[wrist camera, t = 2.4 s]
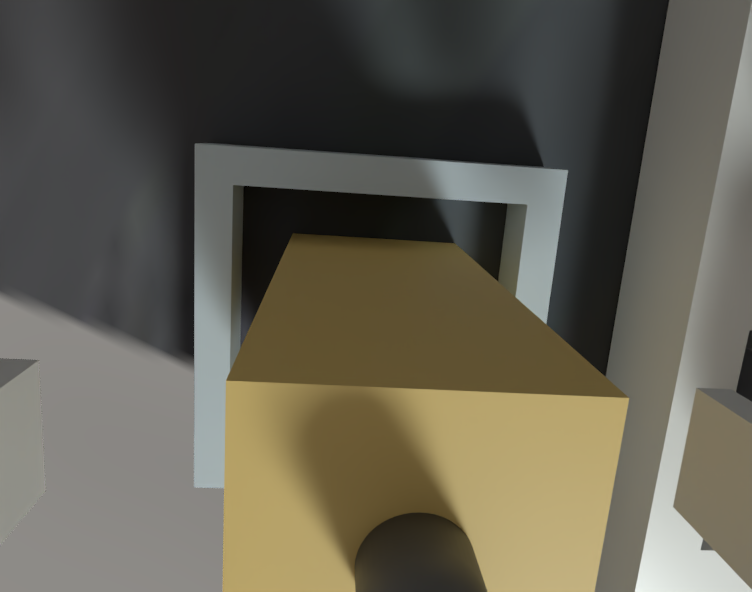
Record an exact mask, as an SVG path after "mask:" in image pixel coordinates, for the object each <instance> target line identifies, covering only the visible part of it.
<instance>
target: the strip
mask: <svg viewBox="0 0 752 592" xmlns="http://www.w3.org/2000/svg"><path fill="white" fill-rule="evenodd" d="M606 378H607V379H608V380H610V381H611V382H612V383H613V384H614V385H615V386H616V387H617V388H619V389H620V390H621V391H622V392H623V393H624V394H625V395H626V396H628V397H629V403H628V408H627V414H626V420H625V425H624V431H623V436H622V442H621V447H620V453H619V458H618V464H617V470H616V475H615V481H614V486H613V492H612V497H611V503H610V508H609V514H608V519H607V525H606V531H605V536H604V542H603V547H602V553H601V558H600V564H599V569H598V575H597V581H596V586H595V592H752V589H751V588H750V587H749V586H748V585H747V584H746V583H745V582H744V581H743V580H742V579H741V578H740V577H739V576H738V575H737V574H736V573H735V571H734V570H733V569H732V568H731V567H730V566H729V565H728V564H727V563H726V562H725V561H724V560H723V559H722V558H721V557H720V556H719V555H718V554H717V553H716V552H715V550H714V549H713V548H712V547H711V546H710V545H709V544H708V543H707V542H706V541H705V540H704V539H703V538H702V537H701V536H700V535H699V534H698V533H697V532H696V531H695V529H694V528H693V527H692V526H691V525H690V524H689V523H688V522H687V521H686V520H685V519H684V518H683V517H682V516H681V515H680V514H679V513H678V512H677V511H676V510H675V508H674V507H673V504H674V499H675V494H676V489H677V484H678V479H679V473H680V468H681V463H682V458H683V453H684V448H685V443H686V438H687V433H688V428H689V423H690V418H691V412H692V407H693V402H694V397H695V392H696V388H713V389H732V390H733V391H735V392H737V393H738V394H740V395H742V396H743V397H745V398H747V399H748V400H750V401H752V0H669V4H668V10H667V16H666V22H665V28H664V34H663V40H662V46H661V51H660V57H659V63H658V69H657V75H656V81H655V87H654V93H653V99H652V105H651V111H650V117H649V122H648V128H647V134H646V140H645V146H644V152H643V158H642V164H641V170H640V176H639V182H638V188H637V193H636V199H635V205H634V211H633V217H632V223H631V229H630V235H629V241H628V247H627V253H626V259H625V264H624V270H623V276H622V282H621V288H620V294H619V300H618V306H617V312H616V318H615V324H614V330H613V335H612V341H611V347H610V353H609V359H608V365H607V371H606Z"/></svg>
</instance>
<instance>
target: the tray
mask: <svg viewBox="0 0 752 592" xmlns="http://www.w3.org/2000/svg"><path fill="white" fill-rule="evenodd" d="M567 174H568V170H563V169H555V168H548V167H538V166H524V165H510V164H496V163H482V162H468V161H454V160H441V159H427V158H413V157H399V156H385V155H371V154H357V153H343V152H329V151H315V150H301V149H287V148H273V147H259V146H245V145H232V144H218V143H196V144H195V254H194V487H200V488H203V487H204V488H224V470H225V403H226V379H227V377H228V375H229V373H230V370H231V368H232V366H233V364H234V362H235V359H236V357H237V355H238V353H239V351H240V338H241V289H242V241H243V192H244V186H256V187H271V188H286V189H301V190H316V191H331V192H346V193H361V194H376V195H391V196H406V197H421V198H436V199H450V200H465V201H480V202H495V203H508V204H507V212H506V221H505V229H504V237H503V245H502V254H501V262H500V270H499V279H498V282H499V283H500V284H501V285H502V286H504V287H505V288H506V289H507V290H508V291H509V292H510V293H511V294H513V295H514V296H515V297H516V298H517V299H518V300H519V301H520V302H522V303H523V304H524V305H525V306H526V307H527V308H528V309H529V310H531V311H532V312H533V313H534V314H535V315H536V316H537V317H539V318H540V319H541V320H542V321H543V322H544V323H545V324H546V322H547V315H548V308H549V301H550V294H551V287H552V280H553V273H554V266H555V258H556V251H557V244H558V237H559V230H560V223H561V216H562V209H563V202H564V195H565V188H566V181H567Z"/></svg>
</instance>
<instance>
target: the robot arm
mask: <svg viewBox="0 0 752 592" xmlns="http://www.w3.org/2000/svg"><path fill="white" fill-rule="evenodd" d="M45 491H46V484H45V465H44V446H43V428H42V410H41V389H40V371H39V360H24V359H23V360H22V359H0V546H1V545H2V543H3V542H4V541H5V540H6V538H7V537H8V536H9V535H10V534H11V532H12V531H13V530H14V529H15V528H16V526H17V525H18V524H19V523H20V521H21V520H22V519H23V518H24V517H25V516H26V514H27V513H28V512H29V511H30V510H31V508H32V507H33V506H34V505H35V503H36V502H37V501H38V500H39V499H40V497H41V496H42V495H43V494H44V493H45ZM673 507H674V508H675V510H676V511H677V512H678V513H679V514H680V515H681V516H682V517H683V518H684V519H685V520H686V521H687V522H688V523H689V524H690V525H691V526H692V527H693V528H694V529H695V531H696V532H697V533H698V534H699V535H700V536H701V537H702V538H703V539H704V540H705V541H706V542H707V543H708V544H709V545H710V546H711V547H712V548H713V549H714V550H715V552H716V553H717V554H718V555H719V556H720V557H721V558H722V559H723V560H724V561H725V562H726V563H727V564H728V565H729V566H730V567H731V568H732V569H733V570H734V571H735V573H736V574H737V575H738V576H739V577H740V578H741V579H742V580H743V581H744V582H745V583H746V584H747V585H748V586H749V587H750V588H751V589H752V401H750V400H748V399H747V398H745V397H743V396H742V395H740V394H738V393H737V392H735V391H733V390H732V389H713V388H696V392H695V397H694V402H693V407H692V412H691V418H690V423H689V428H688V433H687V438H686V443H685V448H684V453H683V458H682V463H681V468H680V473H679V479H678V484H677V489H676V494H675V499H674V504H673Z"/></svg>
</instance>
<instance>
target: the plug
mask: <svg viewBox="0 0 752 592" xmlns="http://www.w3.org/2000/svg"><path fill="white" fill-rule="evenodd" d="M628 403H629V397H628V396H626V395H625V394H624V393H623V392H622V391H621V390H620V389H619V388H617V387H616V386H615V385H614V384H613V383H612V382H611V381H610V380H608V379H607V378H606V377H605V376H604V375H603V374H602V373H601V372H599V371H598V370H597V369H596V368H595V367H594V366H593V365H592V364H590V363H589V362H588V361H587V360H586V359H585V358H584V357H583V356H581V355H580V354H579V353H578V352H577V351H576V350H575V349H573V348H572V347H571V346H570V345H569V344H568V343H567V342H566V341H564V340H563V339H562V338H561V337H560V336H559V335H558V334H557V333H555V332H554V331H553V330H552V329H551V328H550V327H549V326H548V325H546V324H545V323H544V322H543V321H542V320H541V319H540V318H539V317H537V316H536V315H535V314H534V313H533V312H532V311H531V310H529V309H528V308H527V307H526V306H525V305H524V304H523V303H522V302H520V301H519V300H518V299H517V298H516V297H515V296H514V295H513V294H511V293H510V292H509V291H508V290H507V289H506V288H505V287H504V286H502V285H501V284H500V283H499V282H498V281H497V280H496V279H495V278H493V277H492V276H491V275H490V274H489V273H488V272H487V271H486V270H484V269H483V268H482V267H481V266H480V265H479V264H478V263H476V262H475V261H474V260H473V259H472V258H471V257H470V256H469V255H467V254H466V253H465V252H464V251H463V250H462V249H461V248H460V247H458V246H457V245H456V244H455V243H443V242H427V241H410V240H394V239H378V238H362V237H345V236H329V235H313V234H297V233H293V234H292V236H291V238H290V240H289V243H288V245H287V247H286V249H285V251H284V254H283V256H282V258H281V260H280V262H279V265H278V267H277V269H276V271H275V273H274V276H273V278H272V280H271V282H270V284H269V287H268V289H267V291H266V293H265V295H264V298H263V300H262V302H261V304H260V306H259V309H258V311H257V313H256V315H255V317H254V320H253V322H252V324H251V326H250V328H249V331H248V333H247V335H246V337H245V340H244V342H243V344H242V346H241V348H240V351H239V353H238V355H237V357H236V359H235V362H234V364H233V366H232V368H231V370H230V373H229V375H228V377H227V379H226V403H225V470H224V536H223V537H224V538H223V540H224V541H223V592H595V586H596V581H597V575H598V569H599V564H600V558H601V553H602V547H603V542H604V536H605V531H606V525H607V519H608V514H609V508H610V503H611V497H612V492H613V486H614V481H615V475H616V470H617V464H618V458H619V453H620V447H621V442H622V436H623V431H624V425H625V420H626V414H627V408H628Z"/></svg>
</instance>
